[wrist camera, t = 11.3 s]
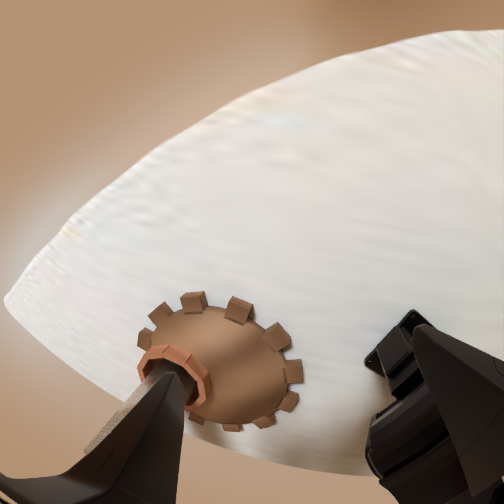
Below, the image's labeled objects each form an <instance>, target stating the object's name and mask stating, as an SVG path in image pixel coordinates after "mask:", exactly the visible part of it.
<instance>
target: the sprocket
mask: <svg viewBox="0 0 504 504" xmlns="http://www.w3.org/2000/svg"><path fill="white" fill-rule="evenodd" d="M180 300H181V304H182V307H183V309H181V310H179V311H177V312H173V311H172V310H171V309H170V307H169V306H168V305H167V304H166V303H165V302H163V303H162V304H161V305H159V306H158V307H157V308H156V309H155V310H154V311H153V312H151V313H150V314H149V315H148V317H149V318H150V319H151V321H152V322H153V323H154V324H155V325H156V327H157V328H156V329H155V331H154V332H152V331H150V330H149V329H147V328H144V329H143V330H141V331H140V332H139V335H138V343H137V346H138V347H140V348H142V349H143V350H145V351H147V352H146V353H145V354H144V355H143V357H142V359H141V361H140V363H139V364H138V366H137V369H138V372H139V376H140V379H141V382H143V381H144V380H145V378H146V377H147V376H148V375H149V374H150V373H151V372H152V370H153V369H154V368H155V367H156V366H157V365H158V363H159V362H160V361H161V360H162V359H164V358H165V359H168V360H170V361H172V362H174V363H176V364H178V365H181V366H183V367H184V368H185V369H186V370H187V371H188V373H189V374H190V375H191V376H192V377H193V378H194V379H195V380H196V381H197V386H196V388H195V390H194V391H193V393H192V395H191V396H190V398H189V400H188V401H187V403H186V405H185V406H184V410H186V411H188V412H190V415H189V418H188V419H189V420H191V421H194V422H196V423H198V424H200V425H203V424H204V422H205V420H208V421H212V422H216V423H221V424H222V427H223V429H224V431H231V432H240V430H241V427H242V424H247V423H252V422H253V423H254V424H255V425H256V426H257V427H259V428H260V429H263V428H265V427H268V426H271V425H273V424H274V422H275V417H276V416H275V415H273V414H272V413H273V412H274V411H275V410H276V409H280V410H283V411H286V412H289V413H290V412H291V410H292V409H293V407H294V406H295V405H296V403H297V402H298V393H295V392H292V391H289V390H287V384H288V383H300V382H302V381H303V370H302V362H301V359H297V360H286V359H285V356H284V354H283V352H282V350H281V349H282V348H284V347H285V346H287V345H289V344H290V335H289V334H288V333H287V332H286V331H285V330H284V329H283V327H282V326H281V325H280V324H279V323H278V322H277V323H275V324H274V325H272V326H270V327H269V328H267V329H266V330H265V329H263V328H262V327H261V326H260V325H258V324H257V323H256V322H254V321H252V320H251V319H249V318H248V315H249V313H250V310H251V308H252V305H253V304H251V303H248V302H246V301H243V300H241V299H239V298H236V297H234V296H232V298H231V299H230V301H229V302H228V305H227V308H226V309H224V308H220V307H214V306H208V305H207V301H206V297H205V293H204V291H202V292H191V293H185V294H184V295H183V296H182V297H180Z"/></svg>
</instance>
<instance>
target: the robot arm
mask: <svg viewBox="0 0 504 504" xmlns="http://www.w3.org/2000/svg"><path fill="white" fill-rule="evenodd" d="M413 314H415V316H414V317H411V316H412V315H413ZM369 360H372V361H371V362H368V361H369ZM364 361H365V365H366V366H367V367H369V368H370V369H372V370H373V371H375V372H376V373H378V374H380V375H381V376H383V377H384V378H386V380H387V383H388V386H389V389H390V392H391V395H392V399H393V403H392V404H391V405H389V406H388V407H387V408H385V409H384V410H383V411H381V412H380V413H379V414H378V413H377V414H375V415H374V416H373V417H372V418H371V424H370V429H369V434H368V439H367V444H366V449H365V458H366V460H367V463H368V465H369V467H370V469H371V470H372V472H373V473H374V474H375V475H376V476H377V477H378V478H379V479H380V480H379V483H380V485H382V486H383V487H384V488H386V489H387V490H389V492H390V493H391V494H392V495H393V496H394V497H395V498H396V500H397V501H398V503H399V504H504V361H502V360H500V359H498V358H496V357H492V356H491V355H489V354H487V353H485V352H483V351H481V350H479V349H477V348H475V347H473V346H471V345H468V344H466V343H464V342H462V341H460V340H458V339H456V338H454V337H452V336H449V335H447V334H445V333H443V332H441V331H439V330H437V329H436V328H435V327H434V326H433V325H432V324H431V323H430V322H429V321H428V320H426V319H425V318H424V317H423V316H422V315H421V314H420V313H419V312H417V311H416V310H415V309H413V310H410V311H409V312H408V313H407V314H406V316H405V317H404V318H403V319H402V320H401V321H400V322H399V324H398V325H397V326H395V327H394V328H393V329H392V330H391V331H390V332H389V333H388V334H387V335H386V336H385V337H384V339H383V340H382V341H381V342H380V343H379V344H378V345H377V346H376V348H375V349H374V350H373V351H372V352H371V353H370V354H369V355H368V356H367V357H366V358H365V360H364ZM184 394H185V391H184V386H183V384H182V382H181V380H180V378H179V376H178V375H177V373H175V372H166V373H164V374H163V375H162V376H161V378H160V379H159V380H158V381H157V382H156V383H155V384H154V385H153V386H152V387H151V389H150V390H149V391H148V392H147V393H146V394H145V395H144V396H143V397H142V398H141V399H140V401H139V402H138V403H137V404H136V405H135V406H134V407H133V408H132V409H131V410H130V411H129V412H128V414H127V415H126V416H125V417H124V418H123V419H122V420H121V421H120V422H119V423H118V424H117V425H116V426H115V428H114V429H113V430H112V431H111V433H109V434H108V435H107V436H106V437H105V438H104V439H103V440H102V441H101V442H100V443H99V444H98V445H97V446H96V447H95V448H94V449H93V450H92V451H91V452H89V453H88V454H87V455H86V456H85V457H84V458H82V459H81V460H80V461H79V462H78V463H76V464H75V465H74V466H73V467H72V468H70V469H69V470H68V471H66V472H64V473H62V474H60V475H56V476H50V477H40V478H29V479H28V478H27V479H12V478H8V477H6V476H5V475H3V474H2V473H0V491H2V492H3V493H4V494H6V495H7V496H8V497H9V498H11V499H12V500H14V501H15V502H17V503H18V504H176V493H177V482H178V473H179V464H180V455H181V446H182V438H183V431H184ZM0 504H11V503H9V502H8V501H6V500H5V499H3V498H2V497H0Z"/></svg>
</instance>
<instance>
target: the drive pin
mask: <svg viewBox="0 0 504 504" xmlns="http://www.w3.org/2000/svg"><path fill="white" fill-rule="evenodd" d="M166 372H175V373H177V375H178V376H179V378H180V380H181V382H182V384H183V386H184V391H185V394H184V406H185V405H186V403H187V401H188V400H189V398H190V396H191V395H192V393H193V391H194V390H195V388H196V386H197V381H196V380H195V379H194V378H193V377H192V376H191V375H190V374H189V373H188V371H187V370H186V369H185V368H184V367H183V366H181V365H178V364H176V363H174V362H172V361H170V360H168V359H165V358H164V359H162V360H161V361H160V362H159V363H158V365H157V366H156V367H155V368H154V369H153V370H152V372H151V373H150V374H149V375H148V376H147V377H146V378H145V380H144V381H143V382H142V383H141V384H140V385H139V387H138V388H137V389H136V390H135V391H134V392H133V394H132V395H131V396H130V397H129V398H128V399H127V401H126V402H125V403H124V404H123V405H122V406H121V407H120V409H119V410H118V411H117V412H116V413H115V414H114V416H113V417H112V418H111V419H110V420H109V421H108V423H107V424H106V425H105V426H104V427H103V428H102V429H101V431H100V432H99V433H98V434H97V435H96V436H95V438H94V439H93V440H92V441H91V442H90V443H89V445H88V446H87V447H86V448H85V449H84V452H85V454H86V455H87V454H88V453H89V452H91V451H92V450H93V449H94V448H95V447H96V446H97V445H98V444H99V443H100V442H101V441H102V440H103V439H104V438H105V437H106V436H107V435H108V434H109V433H111V431H112V430H113V429H114V428H115V426H116V425H117V424H118V423H119V422H120V421H121V420H122V419H123V418H124V417H125V416H126V415H127V414H128V412H129V411H130V410H131V409H132V408H133V407H134V406H135V405H136V404H137V403H138V402H139V401H140V399H141V398H142V397H143V396H144V395H145V394H146V393H147V392H148V391H149V390H150V389H151V387H152V386H153V385H154V384H155V383H156V382H157V381H158V380H159V379H160V378H161V376H162V375H163V374H164V373H166Z"/></svg>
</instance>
